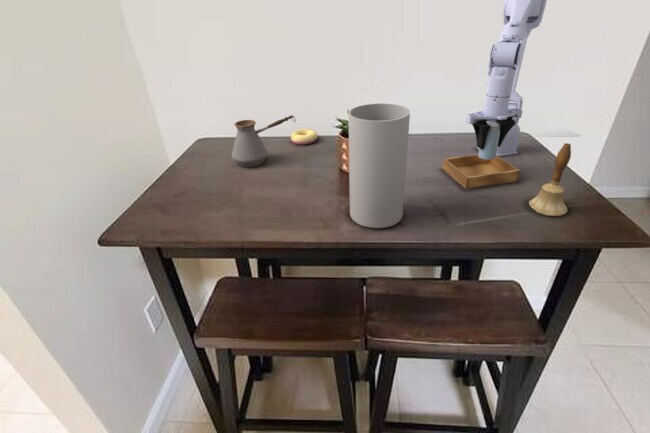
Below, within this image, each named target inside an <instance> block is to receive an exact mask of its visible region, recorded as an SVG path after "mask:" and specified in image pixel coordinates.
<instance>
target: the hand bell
mask: <svg viewBox="0 0 650 433" xmlns="http://www.w3.org/2000/svg"><path fill="white" fill-rule="evenodd" d="M571 156H572V145H571V143H563V146H562V147H561V148H560V149H559V151H558V152H557V154H556V158H555V161H554V162H555V164H554V165H555V169H554V172H553V175H552V178H551V180H550V183H549V182H548V183H544V184H543V185H542V186H541V189H540V191H539V192H538V194H537V195H536V196H535V197H533V198H531V199H530V200H529V201H528V203H529V206H530V208H532V209H533V212H535V213H538V214H540V215H543V216H547V217H562V216H565V215H566V214H567V213H568V207H567V206H566V204H565V202H564V193H565V188H564V187H563V186H562V185H560V182H561V179H562V176H563V172H564V171H565V169H566V168H567V166H568V164H569V162H570V160H571Z"/></svg>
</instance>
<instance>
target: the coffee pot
mask: <svg viewBox="0 0 650 433" xmlns="http://www.w3.org/2000/svg"><path fill="white" fill-rule="evenodd" d="M291 119H292V121H293V122H294V123H295V122H296V117H295V115H293V114H291V115H289V116H285V117H284V118H281V119H278V120H276V121H274V122H272V123H270V124H268V125H267V126H264V127H261V128H259V129H257V130H256V129H255V125H256V121H255V120H254V119H243V120H238V121H236V122H235V123H234V127H236V130H237V131H236V136H235V140H234V144H233V147H232V151H231V159H232V160H233V162H235V163H236V164H238V165H239V166H241V167H245V168H252V167H256V166H259V165H262V164H263V163H264V161H265V160H266V159H267V157H268V154H269V151H268V149H267V147H266V145H265V144H264V142H263V140H262V139H261V137H260V135H259V134H260V133H262V132H264V131H267V130H268V129H271V128H274V127H277V126H279V125H281V124H283V123H284V122H288V121H289V120H291Z"/></svg>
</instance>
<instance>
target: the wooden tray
mask: <svg viewBox="0 0 650 433" xmlns="http://www.w3.org/2000/svg"><path fill="white" fill-rule="evenodd" d="M442 160H443V161H442V170H443V171H444V172H446V174H448V175H449V176H450V177H451V178H453V179H454V180H455V181H456V182H457V183H459V185H461V186H462V187H463V188H464V189H472V188H478V187H486V186H493V185H498V184H506V183H512V182H518V181H519V178H520V173H521V169H520V168H518V167H516V166H514V165H512V164H511V163H510V162H508V161H506V160H505V159H503V158H501V157H500V156H497V155H496V157H495V159H492V160H486V159H481V158H479V157H478V153H475V154H469V155H461V156H454V157H448V158H447V157H446V158H443V159H442Z"/></svg>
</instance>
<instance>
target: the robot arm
mask: <svg viewBox="0 0 650 433" xmlns="http://www.w3.org/2000/svg"><path fill="white" fill-rule="evenodd" d="M547 1H548V0H504V3H503V4H504V5H503V10H502V15H503V27H502V28H501V31H500V34H499V36H498V39H497V41H496V43H493V44H492V46H491V48H490V52H489V57H488V71H487V76H488V80H487V85H486V91H485V97H484V103H483V108H482V110H479V111H476V112H473V113H468V114H466V117H465V123H467V124H468V125H472V128H473V130H474V135H475V140H476V149H478V150H479V148H480V149H483V148H484V146H485V141H486V137H487V134H488V131H489V129H490V127H491V126H490V125H488V124H487V123H486V122H497V123H500V124H501V126H500V129H501V132H500V137H499V142H498V147H497V152H496V155H497V156H498V157H500V156H505V155H506V156H507V155H514V154H518V153H519V152H518V151H517V149H518V146H519V141H520V136H521V128H520V126H519V121H520V119H521V118H522V116H523V111H524V110H523V109H522V108H523V102H524V100H523V97H522V96H521V95H520V94H519V93H518V91H516V89H517V84H518V81H519V80H518V79H519V75H520V72H521V68H522V63H523V59H524V54H525V50H526V45H527V42H528V38H529V36H530V34H531V32H532V30H534V29H536V28H538V27H540V24H541V23H542V20H543V16H544V13H545V10H546V6H547Z"/></svg>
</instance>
